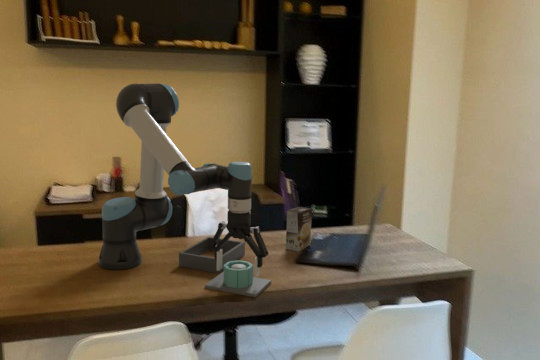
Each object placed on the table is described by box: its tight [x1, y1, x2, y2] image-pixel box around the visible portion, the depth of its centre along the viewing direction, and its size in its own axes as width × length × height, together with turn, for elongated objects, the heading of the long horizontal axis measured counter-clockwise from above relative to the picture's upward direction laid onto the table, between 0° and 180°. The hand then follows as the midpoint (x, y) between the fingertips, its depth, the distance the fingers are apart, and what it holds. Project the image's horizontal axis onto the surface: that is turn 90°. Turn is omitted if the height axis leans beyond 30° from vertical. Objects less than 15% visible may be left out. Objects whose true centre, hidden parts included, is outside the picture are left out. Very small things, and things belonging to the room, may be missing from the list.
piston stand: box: [204, 264, 272, 298], centre depth 175 cm, size 18×13×6 cm
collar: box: [223, 259, 254, 288], centre depth 175 cm, size 9×9×6 cm
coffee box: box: [285, 206, 313, 252], centre depth 214 cm, size 9×6×16 cm
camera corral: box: [178, 236, 246, 274], centre depth 198 cm, size 16×22×5 cm
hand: (237, 272), depth 175 cm, fingers open, 13 cm apart
